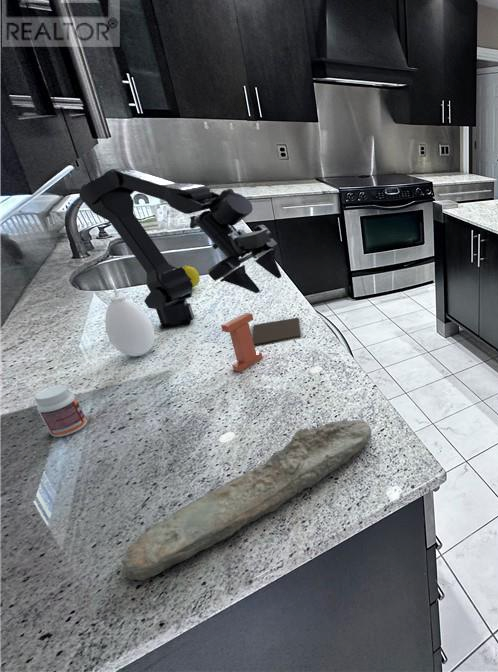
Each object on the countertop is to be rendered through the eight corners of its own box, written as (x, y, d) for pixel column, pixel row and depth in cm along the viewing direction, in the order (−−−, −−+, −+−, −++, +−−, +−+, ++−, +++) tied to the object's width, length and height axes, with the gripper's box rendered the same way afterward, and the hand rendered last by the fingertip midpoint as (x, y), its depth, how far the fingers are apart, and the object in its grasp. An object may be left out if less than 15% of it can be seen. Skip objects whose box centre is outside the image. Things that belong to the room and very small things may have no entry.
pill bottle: (93, 423, 76) (76, 387, 73) (61, 440, 72) (41, 403, 69) (77, 416, 78) (60, 380, 74) (44, 433, 74) (24, 396, 70)
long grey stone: (123, 555, 56) (141, 611, 51) (107, 532, 54) (124, 589, 48) (354, 417, 80) (383, 445, 74) (350, 397, 77) (380, 425, 72)
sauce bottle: (111, 357, 96) (82, 287, 88) (150, 342, 102) (126, 276, 95) (127, 367, 92) (98, 296, 85) (167, 351, 99) (143, 284, 92)
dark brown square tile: (252, 345, 103) (252, 344, 102) (254, 326, 111) (253, 324, 111) (300, 336, 108) (300, 335, 107) (298, 318, 116) (298, 317, 116)
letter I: (232, 370, 93) (219, 324, 88) (255, 355, 99) (245, 312, 94) (240, 372, 92) (228, 326, 88) (263, 357, 98) (253, 314, 93)
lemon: (206, 286, 134) (200, 263, 130) (192, 292, 129) (185, 269, 125) (191, 284, 134) (184, 262, 131) (176, 291, 129) (169, 268, 126)
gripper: (217, 228, 87) (269, 285, 92) (269, 207, 104) (311, 256, 109) (184, 253, 90) (237, 306, 95) (240, 229, 107) (282, 276, 112)
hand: (269, 284), depth 103 cm, fingers open, 9 cm apart
